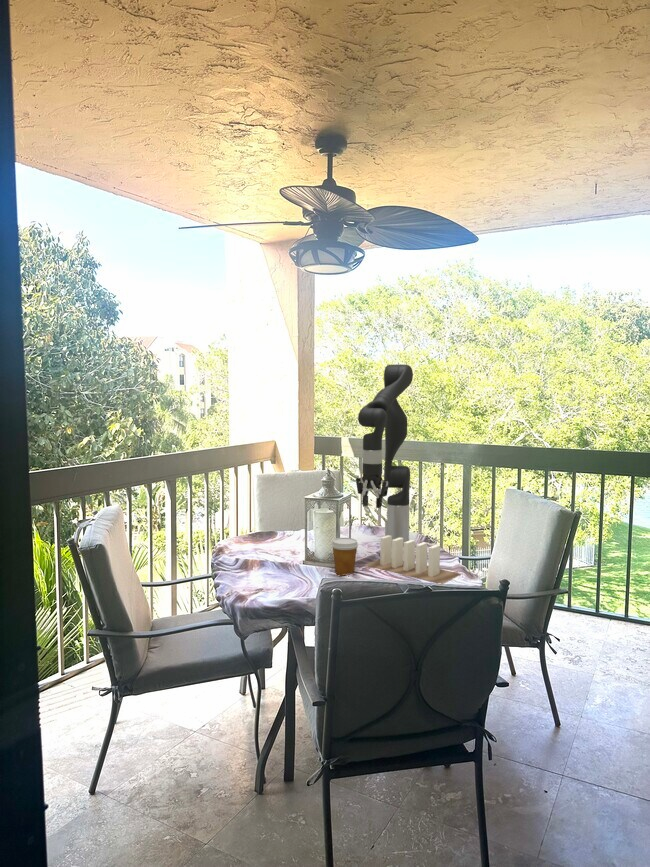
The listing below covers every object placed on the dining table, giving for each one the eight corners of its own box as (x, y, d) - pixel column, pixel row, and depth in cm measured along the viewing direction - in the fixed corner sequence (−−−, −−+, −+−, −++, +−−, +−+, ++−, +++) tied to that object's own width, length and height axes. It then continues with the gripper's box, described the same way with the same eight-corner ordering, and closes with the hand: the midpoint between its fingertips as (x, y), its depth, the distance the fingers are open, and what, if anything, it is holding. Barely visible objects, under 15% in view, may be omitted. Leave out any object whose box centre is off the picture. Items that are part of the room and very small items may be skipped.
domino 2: (391, 567, 206) (391, 540, 205) (399, 564, 210) (399, 537, 209) (395, 568, 205) (395, 540, 204) (402, 564, 209) (403, 538, 208)
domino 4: (415, 573, 199) (415, 545, 199) (422, 569, 203) (423, 542, 202) (419, 573, 198) (419, 545, 198) (426, 570, 202) (427, 542, 201)
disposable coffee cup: (362, 571, 204) (362, 538, 203) (352, 579, 195) (352, 545, 194) (337, 568, 208) (337, 536, 207) (326, 576, 199) (326, 542, 198)
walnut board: (363, 567, 208) (363, 565, 208) (385, 559, 219) (385, 556, 219) (441, 587, 188) (441, 584, 188) (461, 576, 198) (461, 573, 198)
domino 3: (403, 570, 203) (403, 542, 202) (410, 566, 206) (411, 539, 206) (407, 571, 202) (407, 543, 201) (414, 567, 205) (415, 540, 205)
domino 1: (380, 564, 209) (380, 537, 208) (387, 561, 213) (388, 535, 212) (383, 565, 208) (384, 538, 207) (391, 562, 212) (391, 535, 211)
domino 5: (428, 575, 196) (428, 547, 195) (435, 572, 200) (435, 544, 199) (432, 576, 195) (432, 548, 194) (439, 573, 199) (440, 545, 198)
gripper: (394, 462, 210) (393, 507, 211) (362, 459, 219) (362, 502, 221) (382, 464, 204) (382, 511, 206) (350, 461, 214) (350, 505, 215)
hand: (372, 506), depth 213 cm, fingers open, 5 cm apart
